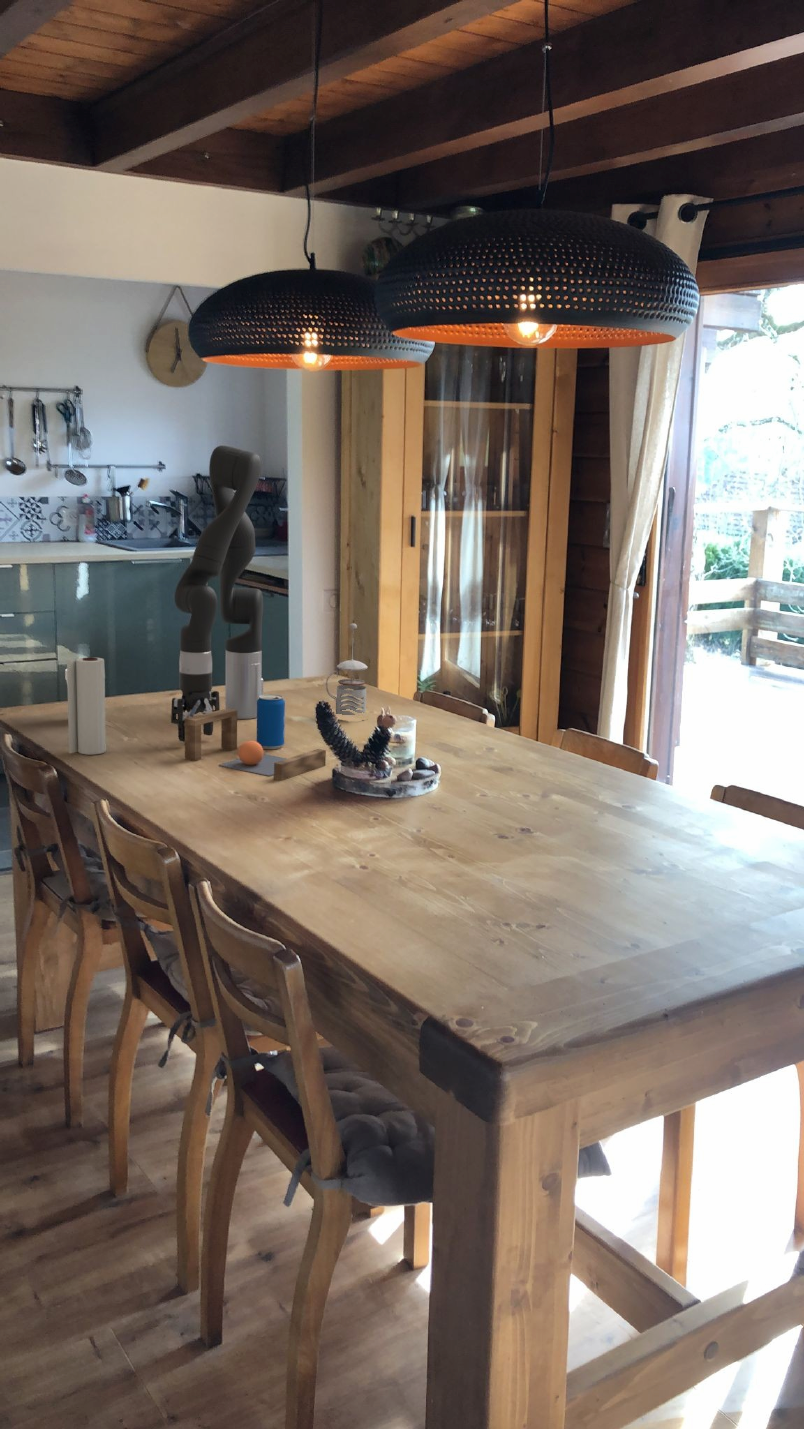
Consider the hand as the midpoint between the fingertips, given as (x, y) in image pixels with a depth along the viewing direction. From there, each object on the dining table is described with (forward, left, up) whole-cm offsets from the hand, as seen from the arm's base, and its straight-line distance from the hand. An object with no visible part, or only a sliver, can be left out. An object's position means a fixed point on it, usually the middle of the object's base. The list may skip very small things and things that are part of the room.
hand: (195, 738), depth 280 cm
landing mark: (+5, +24, -1) cm, 25 cm away
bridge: (+5, +9, -1) cm, 10 cm away
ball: (+7, +22, +1) cm, 23 cm away
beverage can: (-9, +15, -2) cm, 18 cm away
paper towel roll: (+21, -13, -2) cm, 25 cm away
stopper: (+5, +34, -1) cm, 34 cm away
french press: (-47, +11, -2) cm, 48 cm away
